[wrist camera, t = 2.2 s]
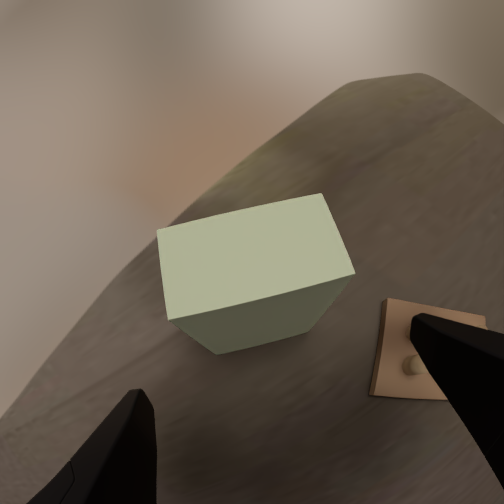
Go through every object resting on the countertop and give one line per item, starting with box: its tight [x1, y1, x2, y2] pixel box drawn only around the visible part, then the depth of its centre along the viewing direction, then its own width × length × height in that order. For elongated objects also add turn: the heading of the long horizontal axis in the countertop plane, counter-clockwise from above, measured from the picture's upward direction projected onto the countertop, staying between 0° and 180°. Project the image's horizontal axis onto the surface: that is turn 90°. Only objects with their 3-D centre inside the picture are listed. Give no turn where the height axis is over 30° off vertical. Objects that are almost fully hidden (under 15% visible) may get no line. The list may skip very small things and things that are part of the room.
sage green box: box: [157, 193, 355, 355], centre depth 15 cm, size 6×4×11 cm, turn 104°
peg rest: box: [369, 298, 488, 400], centre depth 17 cm, size 7×10×3 cm
